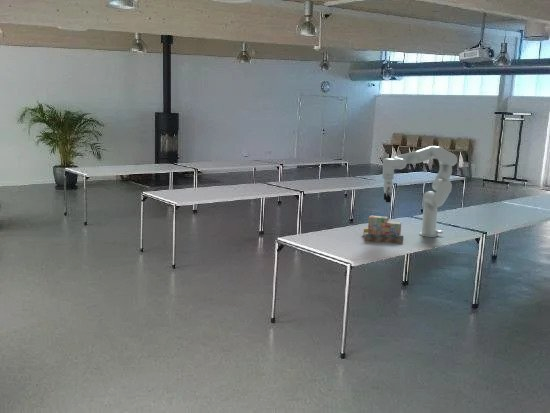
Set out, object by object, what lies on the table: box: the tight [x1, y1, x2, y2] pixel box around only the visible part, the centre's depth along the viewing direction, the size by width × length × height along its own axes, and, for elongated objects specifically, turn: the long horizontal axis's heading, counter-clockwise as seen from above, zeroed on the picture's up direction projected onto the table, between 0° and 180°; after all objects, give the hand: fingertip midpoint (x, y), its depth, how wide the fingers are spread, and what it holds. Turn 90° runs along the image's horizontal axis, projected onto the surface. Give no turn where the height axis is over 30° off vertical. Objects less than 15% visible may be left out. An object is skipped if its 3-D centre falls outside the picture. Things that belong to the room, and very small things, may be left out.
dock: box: [363, 227, 404, 244], centre depth 370 cm, size 25×19×5 cm
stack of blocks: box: [367, 215, 402, 236], centre depth 369 cm, size 21×6×12 cm, turn 65°
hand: (387, 200), depth 374 cm, fingers open, 9 cm apart
